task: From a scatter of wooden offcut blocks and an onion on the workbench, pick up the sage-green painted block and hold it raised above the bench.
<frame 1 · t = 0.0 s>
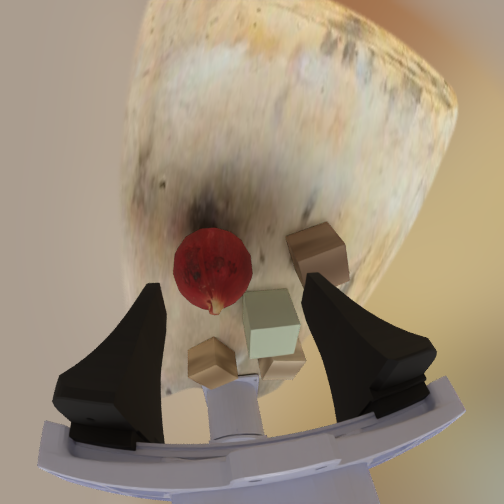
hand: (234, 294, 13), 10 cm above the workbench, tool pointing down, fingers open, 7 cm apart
onion: (211, 241, 23), on the workbench
oak block: (211, 350, 31), on the workbench
walnut block: (310, 246, 25), on the workbench
maple block: (276, 344, 32), on the workbench
sage block: (264, 306, 28), on the workbench
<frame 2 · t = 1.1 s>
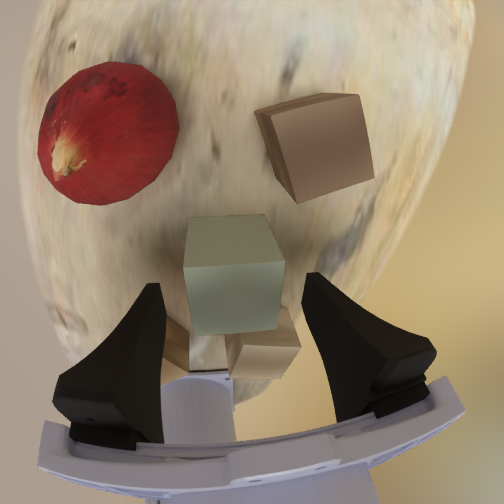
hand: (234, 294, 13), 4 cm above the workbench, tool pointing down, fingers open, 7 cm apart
onion: (131, 122, 12), on the workbench
oak block: (154, 328, 20), on the workbench
walnut block: (299, 134, 14), on the workbench
maple block: (255, 322, 21), on the workbench
sage block: (226, 247, 17), on the workbench
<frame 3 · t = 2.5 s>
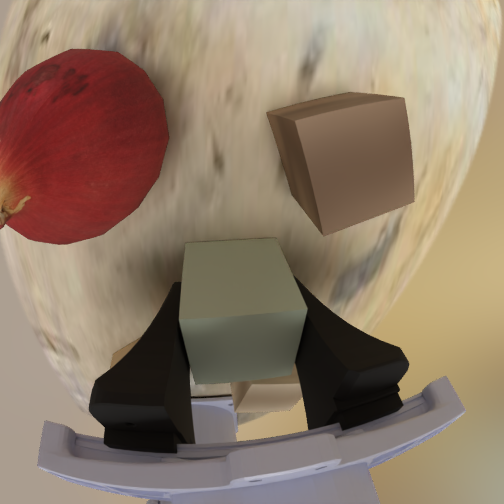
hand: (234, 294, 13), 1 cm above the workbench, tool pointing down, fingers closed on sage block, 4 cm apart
onion: (114, 126, 9), on the workbench
walnut block: (320, 142, 11), on the workbench
maple block: (262, 351, 18), on the workbench
sage block: (231, 276, 14), on the workbench, touching gripper
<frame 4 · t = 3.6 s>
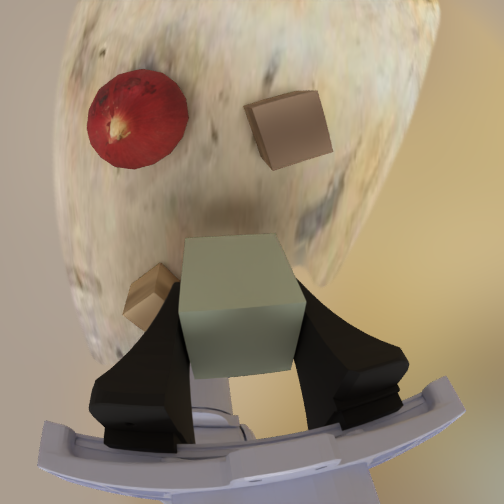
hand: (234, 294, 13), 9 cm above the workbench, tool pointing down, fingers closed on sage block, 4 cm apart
onion: (150, 113, 16), on the workbench
oak block: (160, 287, 24), on the workbench
walnut block: (278, 123, 18), on the workbench
sage block: (231, 272, 14), point 8 cm above the workbench, touching gripper
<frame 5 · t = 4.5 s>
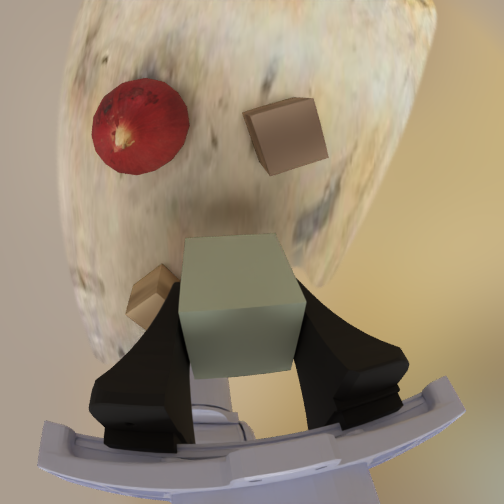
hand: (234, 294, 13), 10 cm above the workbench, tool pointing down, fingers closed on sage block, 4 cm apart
onion: (152, 120, 17), on the workbench
oak block: (161, 287, 25), on the workbench
walnut block: (276, 129, 18), on the workbench
sage block: (231, 272, 14), point 8 cm above the workbench, touching gripper
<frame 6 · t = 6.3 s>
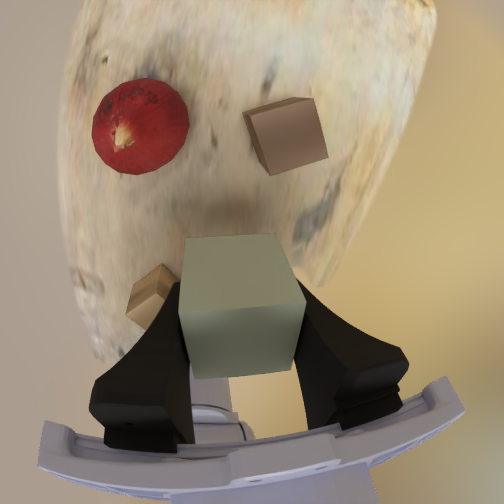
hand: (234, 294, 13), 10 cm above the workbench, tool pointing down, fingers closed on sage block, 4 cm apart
onion: (152, 120, 17), on the workbench
oak block: (161, 287, 25), on the workbench
walnut block: (276, 129, 18), on the workbench
sage block: (231, 272, 14), point 8 cm above the workbench, touching gripper
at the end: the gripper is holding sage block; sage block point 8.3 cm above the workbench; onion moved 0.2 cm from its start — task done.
